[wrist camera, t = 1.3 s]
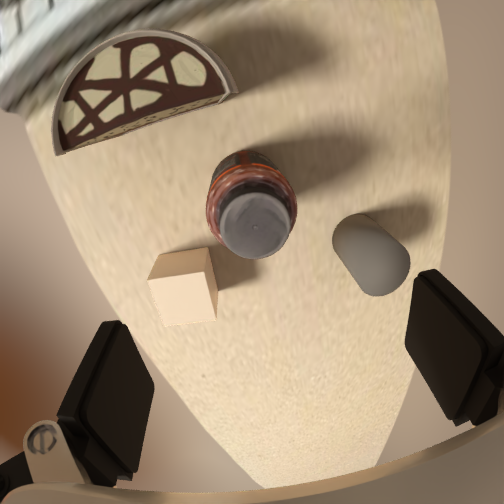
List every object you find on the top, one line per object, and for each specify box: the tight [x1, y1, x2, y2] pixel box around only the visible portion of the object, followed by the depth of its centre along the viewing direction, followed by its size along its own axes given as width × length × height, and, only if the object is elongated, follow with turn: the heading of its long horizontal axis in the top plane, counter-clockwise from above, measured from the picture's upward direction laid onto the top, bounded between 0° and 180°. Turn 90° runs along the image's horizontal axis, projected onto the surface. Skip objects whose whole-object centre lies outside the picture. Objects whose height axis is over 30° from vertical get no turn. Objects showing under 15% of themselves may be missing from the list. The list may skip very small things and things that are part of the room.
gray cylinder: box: [332, 214, 410, 296], centre depth 27 cm, size 5×5×7 cm
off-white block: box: [147, 247, 218, 326], centre depth 29 cm, size 5×5×5 cm
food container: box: [51, 29, 239, 156], centre depth 19 cm, size 12×6×10 cm, turn 104°
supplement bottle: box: [206, 151, 297, 259], centre depth 22 cm, size 6×6×11 cm
